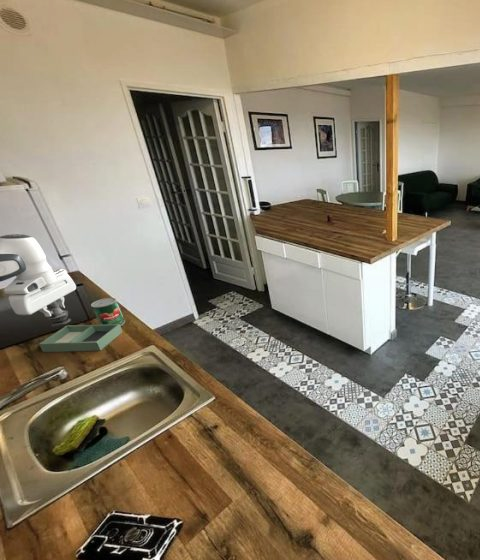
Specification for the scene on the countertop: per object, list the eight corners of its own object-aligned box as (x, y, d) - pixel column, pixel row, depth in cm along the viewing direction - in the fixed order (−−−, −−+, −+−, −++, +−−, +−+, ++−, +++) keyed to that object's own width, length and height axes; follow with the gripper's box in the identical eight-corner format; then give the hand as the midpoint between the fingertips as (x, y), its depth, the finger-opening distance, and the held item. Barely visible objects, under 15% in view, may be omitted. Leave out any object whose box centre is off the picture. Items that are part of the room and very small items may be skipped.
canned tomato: (114, 318, 136) (104, 296, 131) (130, 320, 135) (121, 298, 130) (96, 328, 128) (85, 306, 124) (112, 330, 128) (102, 307, 123)
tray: (100, 350, 116) (96, 342, 115) (43, 352, 115) (38, 343, 113) (122, 331, 127) (119, 324, 125) (70, 333, 125) (66, 325, 124)
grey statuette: (71, 316, 120) (57, 289, 115) (72, 322, 117) (58, 294, 111) (50, 322, 117) (35, 294, 111) (50, 328, 113) (34, 300, 108)
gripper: (54, 267, 118) (70, 298, 124) (-3, 292, 99) (19, 328, 105) (72, 267, 118) (87, 298, 124) (19, 292, 100) (39, 327, 106)
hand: (55, 312), depth 115 cm, fingers closed on grey statuette, 3 cm apart
